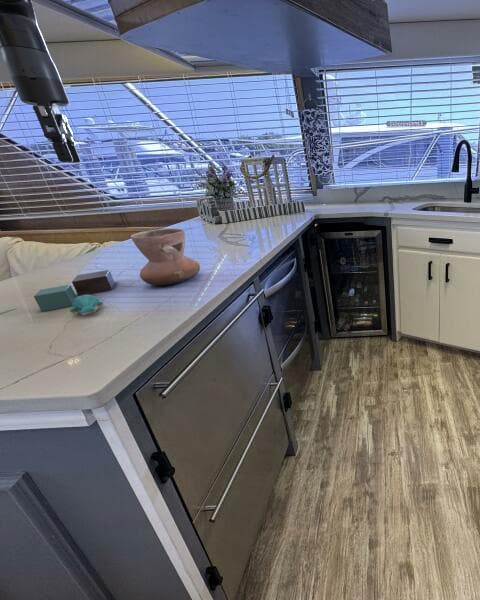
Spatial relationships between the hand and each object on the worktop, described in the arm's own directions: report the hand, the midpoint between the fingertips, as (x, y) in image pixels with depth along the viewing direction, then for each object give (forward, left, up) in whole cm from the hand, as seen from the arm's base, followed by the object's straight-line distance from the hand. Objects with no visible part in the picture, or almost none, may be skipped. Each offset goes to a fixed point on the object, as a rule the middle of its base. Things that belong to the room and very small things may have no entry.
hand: (71, 162), depth 73 cm
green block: (-13, 0, -32) cm, 35 cm away
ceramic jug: (+11, +2, -32) cm, 34 cm away
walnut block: (-7, +8, -32) cm, 34 cm away
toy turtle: (-6, -12, -32) cm, 35 cm away
